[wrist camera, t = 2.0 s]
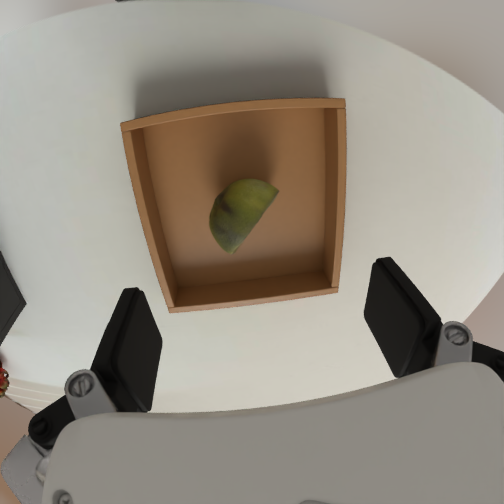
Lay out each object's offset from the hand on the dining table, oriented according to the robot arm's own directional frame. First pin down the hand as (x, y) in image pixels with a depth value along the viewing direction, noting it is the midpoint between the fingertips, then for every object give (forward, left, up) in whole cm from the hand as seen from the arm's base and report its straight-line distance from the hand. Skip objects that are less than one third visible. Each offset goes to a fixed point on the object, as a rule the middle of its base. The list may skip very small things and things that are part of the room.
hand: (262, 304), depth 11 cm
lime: (0, 0, -10) cm, 10 cm away
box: (0, 0, -11) cm, 11 cm away
